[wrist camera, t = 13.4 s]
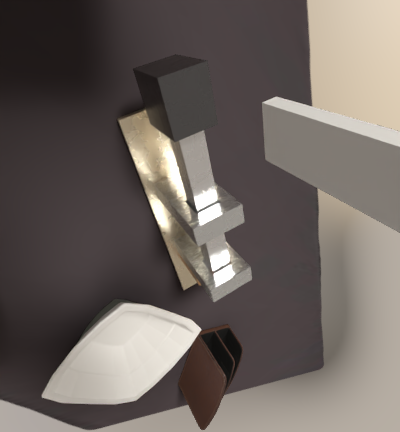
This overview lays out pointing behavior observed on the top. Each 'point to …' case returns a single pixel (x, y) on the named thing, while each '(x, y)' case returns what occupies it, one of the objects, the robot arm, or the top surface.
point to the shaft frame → (183, 210)
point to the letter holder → (210, 371)
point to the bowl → (121, 354)
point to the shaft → (186, 132)
